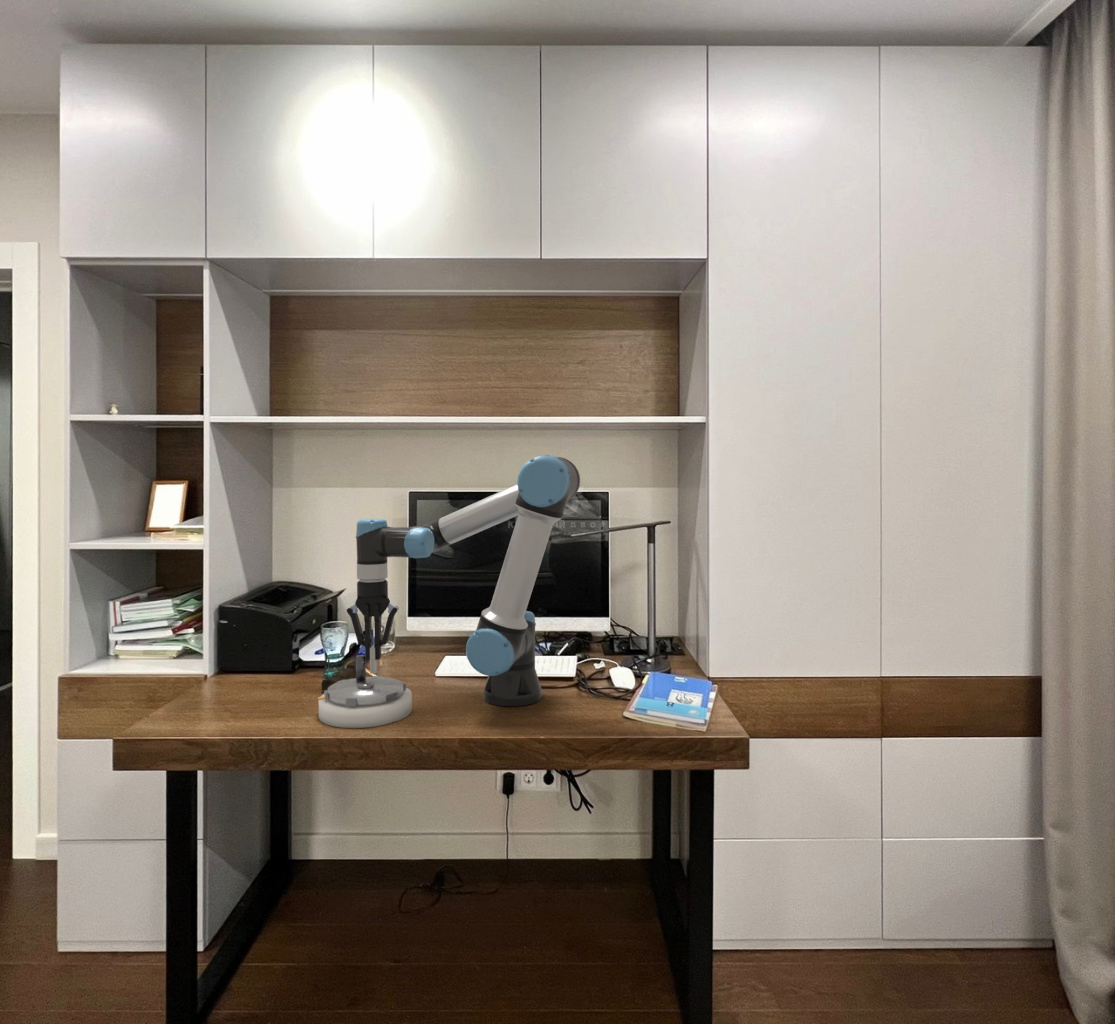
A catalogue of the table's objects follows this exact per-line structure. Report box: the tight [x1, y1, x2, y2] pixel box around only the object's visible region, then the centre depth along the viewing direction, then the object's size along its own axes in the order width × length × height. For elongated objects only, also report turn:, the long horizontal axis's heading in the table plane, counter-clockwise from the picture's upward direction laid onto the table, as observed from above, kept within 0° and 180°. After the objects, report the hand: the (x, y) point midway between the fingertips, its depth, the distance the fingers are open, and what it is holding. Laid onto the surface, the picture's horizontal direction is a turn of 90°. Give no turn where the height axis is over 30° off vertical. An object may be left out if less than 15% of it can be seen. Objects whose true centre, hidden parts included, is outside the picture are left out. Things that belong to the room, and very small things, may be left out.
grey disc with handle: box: [323, 654, 407, 707], centre depth 173 cm, size 18×19×8 cm
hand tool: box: [320, 660, 356, 693], centre depth 198 cm, size 19×4×5 cm, turn 168°
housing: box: [317, 687, 413, 729], centre depth 173 cm, size 22×22×4 cm
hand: (373, 671), depth 179 cm, fingers closed
